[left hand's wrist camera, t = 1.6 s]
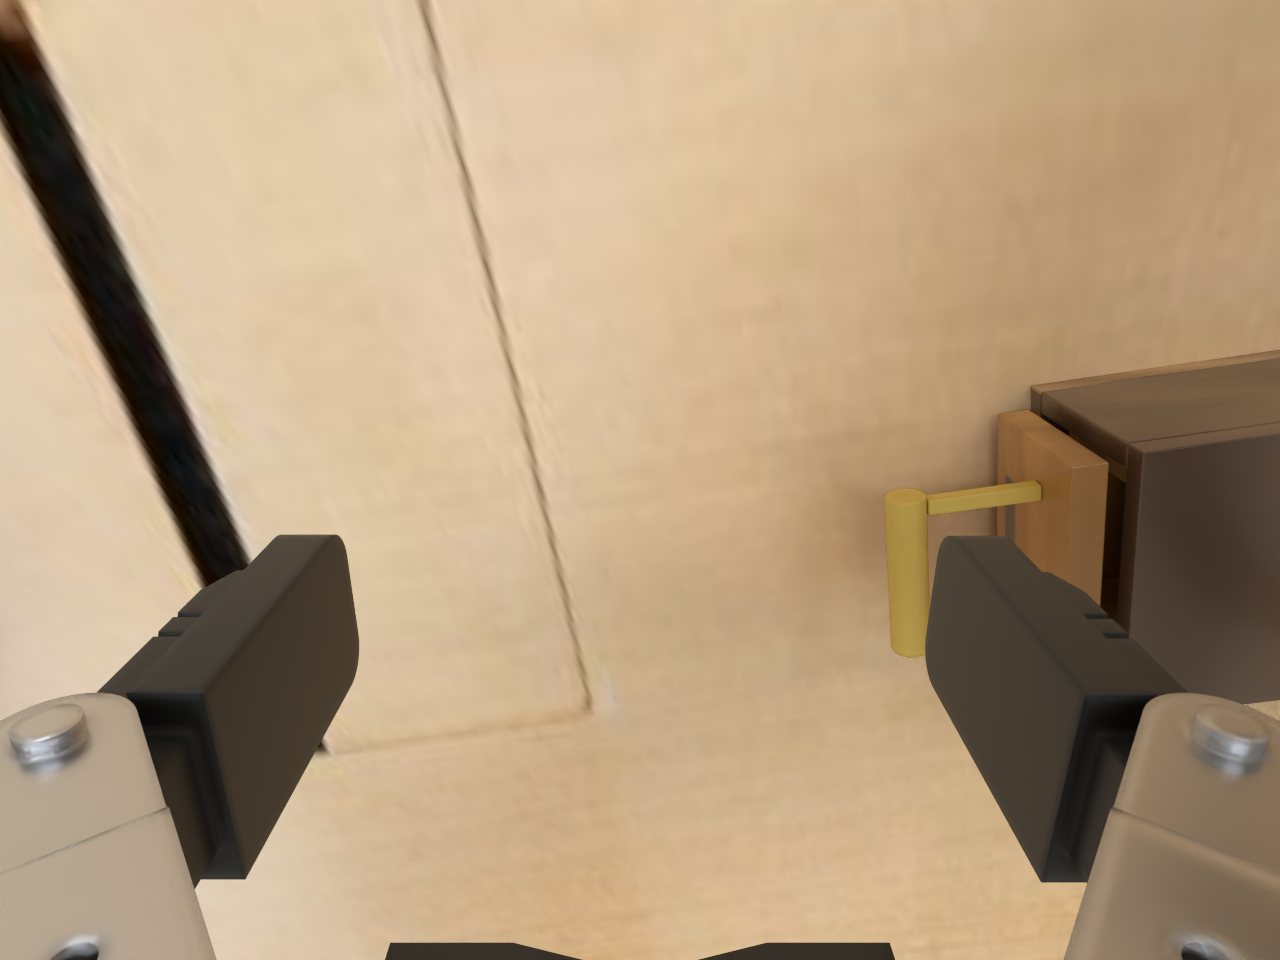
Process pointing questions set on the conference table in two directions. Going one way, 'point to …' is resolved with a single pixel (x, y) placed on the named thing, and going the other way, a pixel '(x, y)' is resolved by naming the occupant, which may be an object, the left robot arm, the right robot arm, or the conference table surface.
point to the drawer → (1017, 520)
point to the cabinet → (1193, 512)
